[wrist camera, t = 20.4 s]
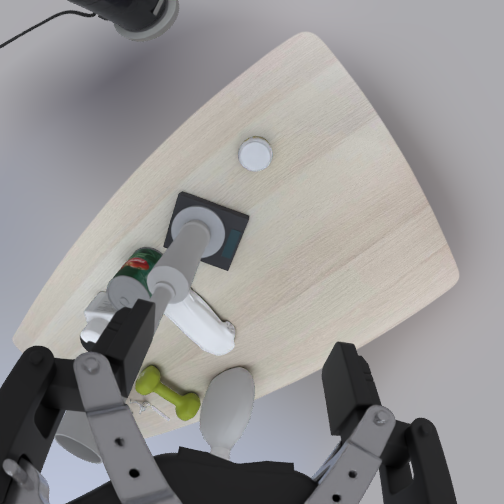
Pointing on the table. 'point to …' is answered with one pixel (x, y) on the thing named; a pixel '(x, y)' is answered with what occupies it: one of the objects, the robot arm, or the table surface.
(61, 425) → the cylinder vase
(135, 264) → the canned tomato
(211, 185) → the table surface
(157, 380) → the dumbbell
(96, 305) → the container
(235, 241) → the scale
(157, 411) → the action figure
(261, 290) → the table surface
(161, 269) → the bottle
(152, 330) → the robot arm
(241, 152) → the supplement bottle
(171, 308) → the toy car
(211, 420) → the soap bottle
